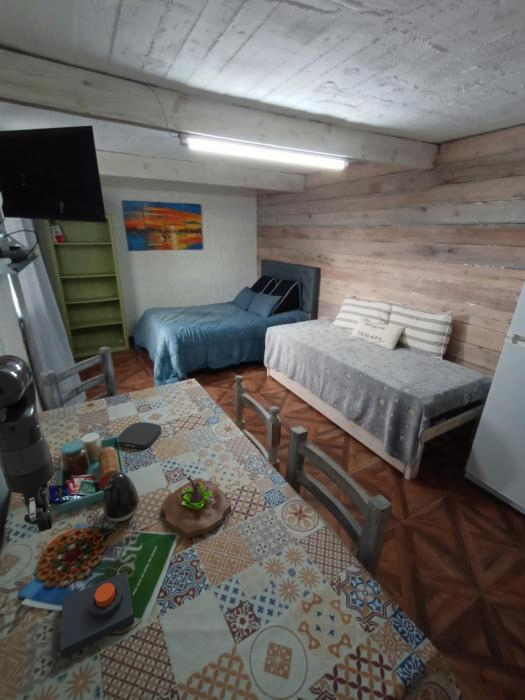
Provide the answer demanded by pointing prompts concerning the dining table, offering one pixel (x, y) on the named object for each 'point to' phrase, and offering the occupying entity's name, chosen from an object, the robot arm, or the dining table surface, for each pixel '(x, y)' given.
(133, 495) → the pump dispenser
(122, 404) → the dining table surface
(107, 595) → the lid button
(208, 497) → the plant
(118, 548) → the dining table surface
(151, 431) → the media streaming box
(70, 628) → the push button box
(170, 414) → the dining table surface
